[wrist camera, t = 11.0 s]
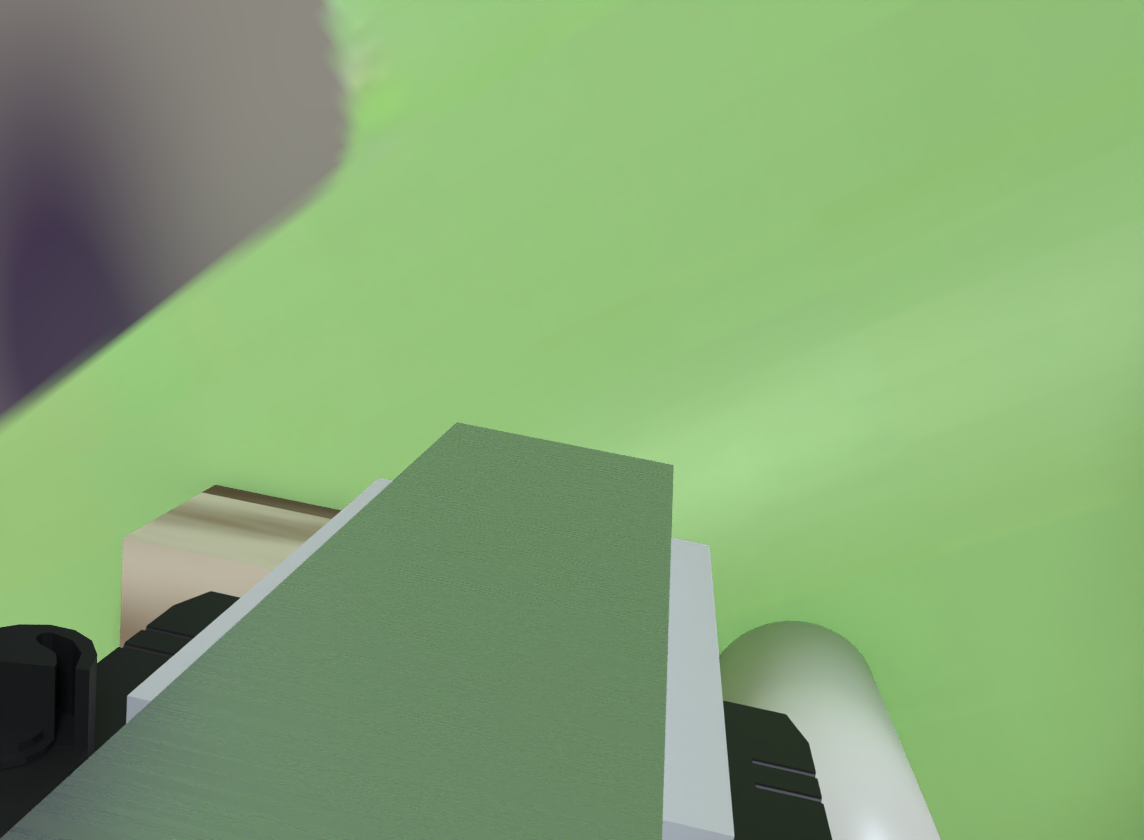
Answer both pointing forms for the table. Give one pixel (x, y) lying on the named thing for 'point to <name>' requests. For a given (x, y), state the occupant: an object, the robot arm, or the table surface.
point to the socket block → (209, 550)
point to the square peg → (423, 672)
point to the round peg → (832, 726)
